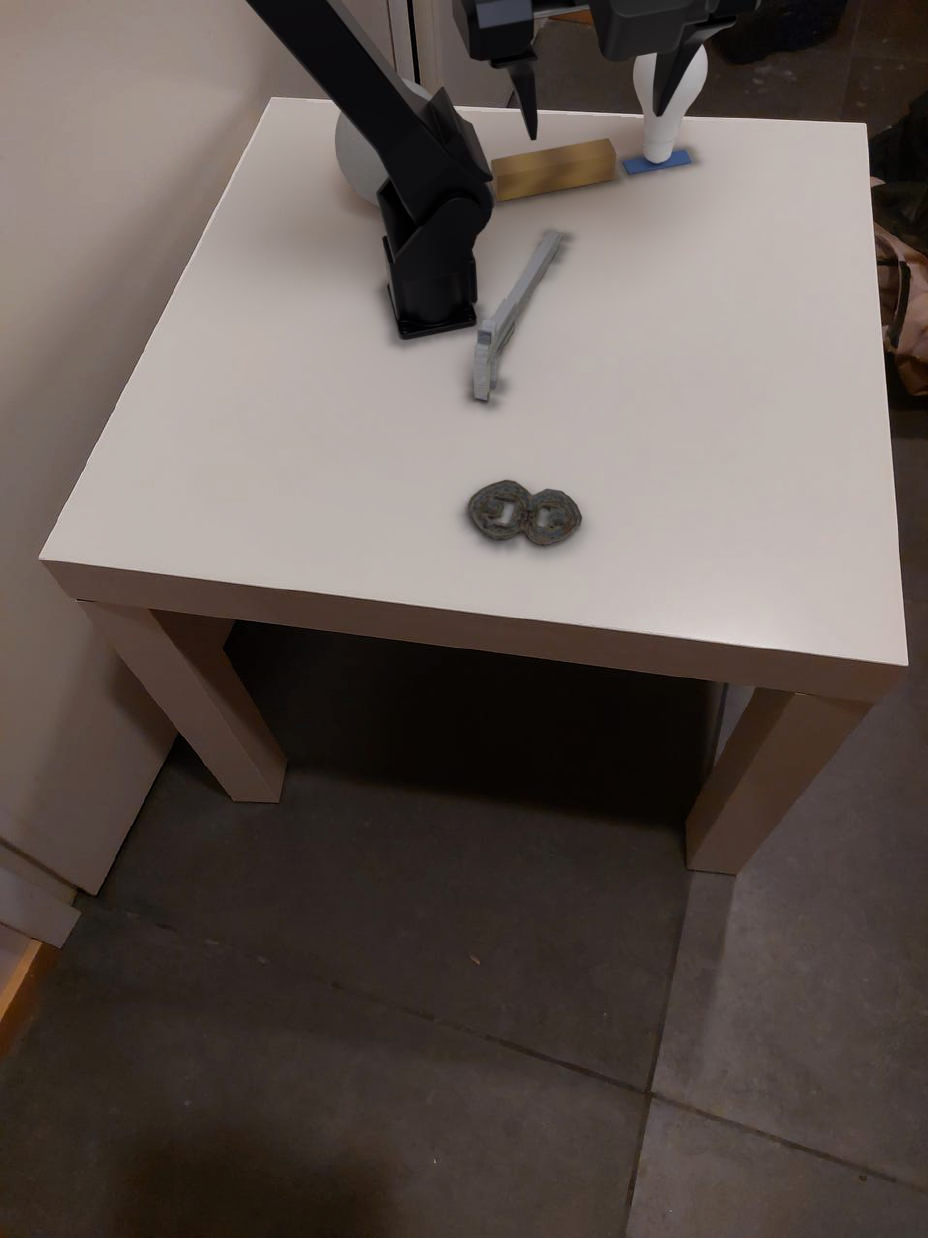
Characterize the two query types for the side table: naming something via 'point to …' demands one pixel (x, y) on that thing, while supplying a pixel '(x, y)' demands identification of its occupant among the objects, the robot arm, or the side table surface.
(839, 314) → the side table surface
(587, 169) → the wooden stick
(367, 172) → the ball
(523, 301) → the caliper
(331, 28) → the robot arm
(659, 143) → the lightbulb
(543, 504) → the corroded twin loop
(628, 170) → the tape mark
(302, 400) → the side table surface
